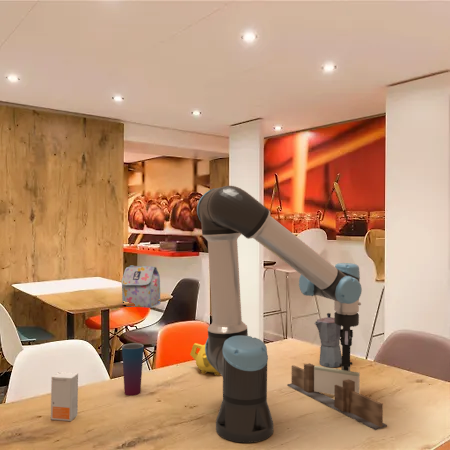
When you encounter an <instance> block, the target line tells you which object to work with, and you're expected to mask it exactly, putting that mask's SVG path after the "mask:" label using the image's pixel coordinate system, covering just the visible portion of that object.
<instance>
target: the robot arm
mask: <svg viewBox="0 0 450 450" xmlns="http://www.w3.org/2000/svg"><path fill="white" fill-rule="evenodd" d="M196 214H197V216H198V219H199V221H200V223H201V235H202V237H203V238H204V239H205V240H206V241H207V252H208V266H209V267H208V269H209V283H210V285H209V286H210V303H211V304H210V305H211V318H212V322H211V324H210V325H209V326H208V327H207V339H206V341H205V343H204V344H205V353H206V356H207V359H208V361H209V363H210V364H211V365H212V367H214V368H215V369H216V370H217V371H218V372H219V373H220V374H221V376H222V401H221V404H220V407H219V410H218V414H217V416H216V420H215V432H216V433H217V435H218V436H220V437H221V438H223V439H224V440H228V441H231V442H236V443H243V444H244V443H256V442H261V441H264V440H267V439H268V438H269V437H270V438H271V436H272V435H273V434H274V419H273V417H272V412H271V410H270V407H269V404H268V400H267V399H268V359H269V355H268V349H267V346H266V344H265V342H264V341H263V340H261V339H260V338H257V337H253V336H251V335H250V336H249V334H248V325H247V324H246V323H245V322H244V321H243V319H242V317H243V316H242V302H241V285H240V284H241V283H240V269H239V268H240V267H239V252H238V251H239V250H238V247H239V246H238V240H239V239H238V238H240V236H244V238H245V239H247V240H249V239H254V240H255V241H256V242H258V243H259V245H261V246H263V247H264V248H266V249H267V250H268V251H269V252H270V253H272V254H273V255H275V256H276V257H277V258H278V259H280V260H282V261H283V262H284V263H285V264H287V265H288V266H289V267H290V268H292V269H293V270H294V271H296V272H297V273H298V274H300V276H299V279H298V286H299V290H300V292H301V294H302V295H303V296H305V297H307V296H309V297H310V296H311V297H313V296H314V297H315V296H317V297H318V296H319V297H323V298H325V299H329V300H332V301H334V305H333V307H334V311H335V312H334V314H333V315H334V317H333V318H334V323H335V324H336V325H339V326H341V327H342V328H341V329H340V339H341V341H340V345H341V346H342V347H341V355H342V364H340V366H339V367H341V368H340V370H346V371H351V366H352V365H353V362H351V346H352V345H353V337H354V332H353V331H354V330H353V329H351V328H352V327H353V328H354V327H357V326H359V325H360V315H359V312H360V311H359V310H360V306H361V305H362V303H361V302H360V298H361V295H362V291H363V290H362V285H361V283H360V279H361V278H360V277H361V275H360V267H359V265H358V264H356V263H351V262H350V263H348V262H339V263H336V264H335V266H334V265H333V264H332V263H331V262H329V261H328V260H327V259H326V258H324V257H323V256H322V255H321V254H319V253H318V252H317V251H316V250H314V249H313V248H312V247H311V246H309V245H308V244H306V243H305V242H304V241H303V240H302V239H300V238H299V237H298V236H297V235H295V234H294V233H293V232H291V231H290V230H289V229H287V227H285V226H284V225H282V224H281V223H280V222H279V221H277V220H276V219H275V218H274V217H272V216H271V211H270V209H268V208H267V207H266V206H265V205H264V204H262V202H260V201H258V200H257V199H256V198H255V197H254V196H252V195H251V194H250V193H249V192H247V191H246V190H243V189H242V188H241V187H237V186H235V185H224V186H221V187H216V188H212V189H209V190H208V191H206V192H205V193H204V194H203V195H202V196H201V197H200V199H199V200H198V203H197V206H196Z"/></svg>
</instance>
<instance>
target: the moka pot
mask: <svg viewBox="0 0 450 450" xmlns="http://www.w3.org/2000/svg"><path fill="white" fill-rule="evenodd" d="M314 325H315V326H316V329H317V330H318V337H319V339H320V347H319V350H320V351H319V360H318V361H319V363H318V364H319V365H320V366H321V367H327V368H339V367H341V366H340V364H342V348H341V346H340V345H341V337H340V329H342V326H339V325H336V324H335V323H334V317H331V313H330V312H328V313H326V317H323V318H319V319H316V321H315V322H314Z"/></svg>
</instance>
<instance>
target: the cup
mask: <svg viewBox="0 0 450 450" xmlns="http://www.w3.org/2000/svg"><path fill="white" fill-rule="evenodd" d="M144 347H145V346H144V344H142V343H137V342H135V343H134V342H132V343H126V344H122V345H121V353H122V370H123V372H122V373H123V388H124V389H123V390H124V391H123V392H124V395H126V396H138V395H140V394H141V391H142V387H141V386H142V375H143V374H142V373H143V359H144Z"/></svg>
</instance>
